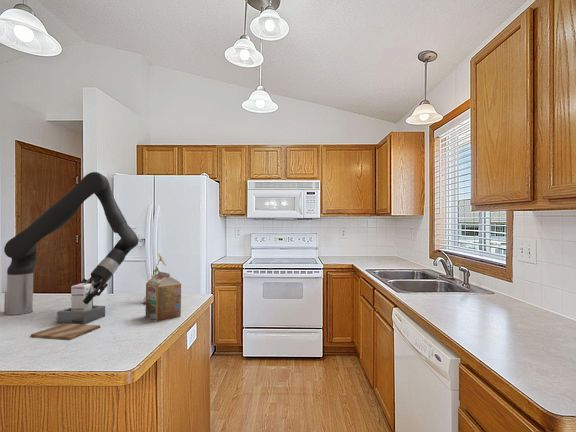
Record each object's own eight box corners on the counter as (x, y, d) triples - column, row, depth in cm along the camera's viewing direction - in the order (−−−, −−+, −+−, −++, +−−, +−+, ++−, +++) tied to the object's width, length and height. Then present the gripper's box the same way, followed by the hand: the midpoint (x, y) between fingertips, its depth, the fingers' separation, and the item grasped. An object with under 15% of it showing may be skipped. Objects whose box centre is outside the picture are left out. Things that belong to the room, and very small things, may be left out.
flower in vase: (162, 305, 166) (163, 253, 167) (139, 305, 166) (139, 253, 167) (171, 299, 179) (172, 251, 180) (150, 299, 179) (151, 251, 180)
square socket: (57, 322, 135) (57, 311, 136) (80, 315, 147) (80, 304, 147) (83, 324, 133) (83, 313, 133) (105, 316, 145) (105, 305, 145)
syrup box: (84, 321, 137) (85, 285, 138) (70, 321, 137) (71, 285, 138) (93, 317, 143) (93, 283, 143) (79, 317, 143) (80, 283, 144)
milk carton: (180, 316, 146) (181, 272, 146) (157, 321, 138) (157, 274, 139) (168, 312, 153) (169, 269, 154) (145, 316, 146) (146, 272, 146)
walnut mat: (30, 336, 119) (30, 334, 119) (63, 325, 133) (63, 323, 133) (70, 339, 116) (70, 337, 116) (100, 327, 130) (100, 325, 130)
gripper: (88, 263, 151) (61, 295, 140) (111, 265, 144) (83, 298, 134) (99, 274, 155) (73, 305, 144) (121, 276, 149) (96, 309, 138)
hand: (78, 301), depth 139 cm, fingers closed on syrup box, 7 cm apart
